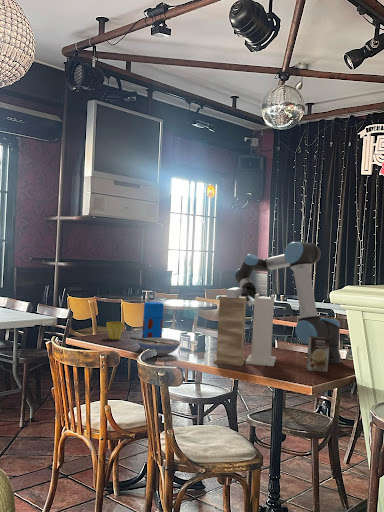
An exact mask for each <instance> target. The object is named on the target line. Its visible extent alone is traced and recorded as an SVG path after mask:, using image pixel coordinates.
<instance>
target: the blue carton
mask: <svg viewBox="0 0 384 512" xmlns="http://www.w3.org/2000/svg"><path fill="white" fill-rule="evenodd" d="M142 317H143V318H142V335H141V338H163V337H162V336H163V335H162V334H163V321H164V303H163V302H155V301H146V302H144V305H143V316H142Z"/></svg>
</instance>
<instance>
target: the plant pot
mask: <svg viewBox="0 0 384 512" xmlns="http://www.w3.org/2000/svg"><path fill="white" fill-rule="evenodd" d="M124 326H125V324H124V322H121V321H107V322H106V329H107V334H108V338H109V339H110V340H120V339H121V338H122V337H121V336H122V333H123V332H122V331H123V330H124Z"/></svg>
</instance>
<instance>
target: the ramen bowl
mask: <svg viewBox="0 0 384 512" xmlns="http://www.w3.org/2000/svg"><path fill="white" fill-rule="evenodd" d="M130 340H136V341H137V343H138V345H139V347H140V348H141V350H142V351H144V352H146V351H145V350H147V349H155V350H156V352H157V356H156V357H164V356H166V355H169V354H171V353H173V352H175V351H176V350H177V349H178V348H179V347H180V344H181V340H177V339H175V338H174V339H173V338H165V337H162V338H142V337H141V338H138V337H130Z"/></svg>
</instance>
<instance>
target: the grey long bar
mask: <svg viewBox="0 0 384 512" xmlns="http://www.w3.org/2000/svg"><path fill="white" fill-rule="evenodd" d="M226 296H227V298H236V297H238V296H241V287H236V286H235V287H231V288H227V289H226Z"/></svg>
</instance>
